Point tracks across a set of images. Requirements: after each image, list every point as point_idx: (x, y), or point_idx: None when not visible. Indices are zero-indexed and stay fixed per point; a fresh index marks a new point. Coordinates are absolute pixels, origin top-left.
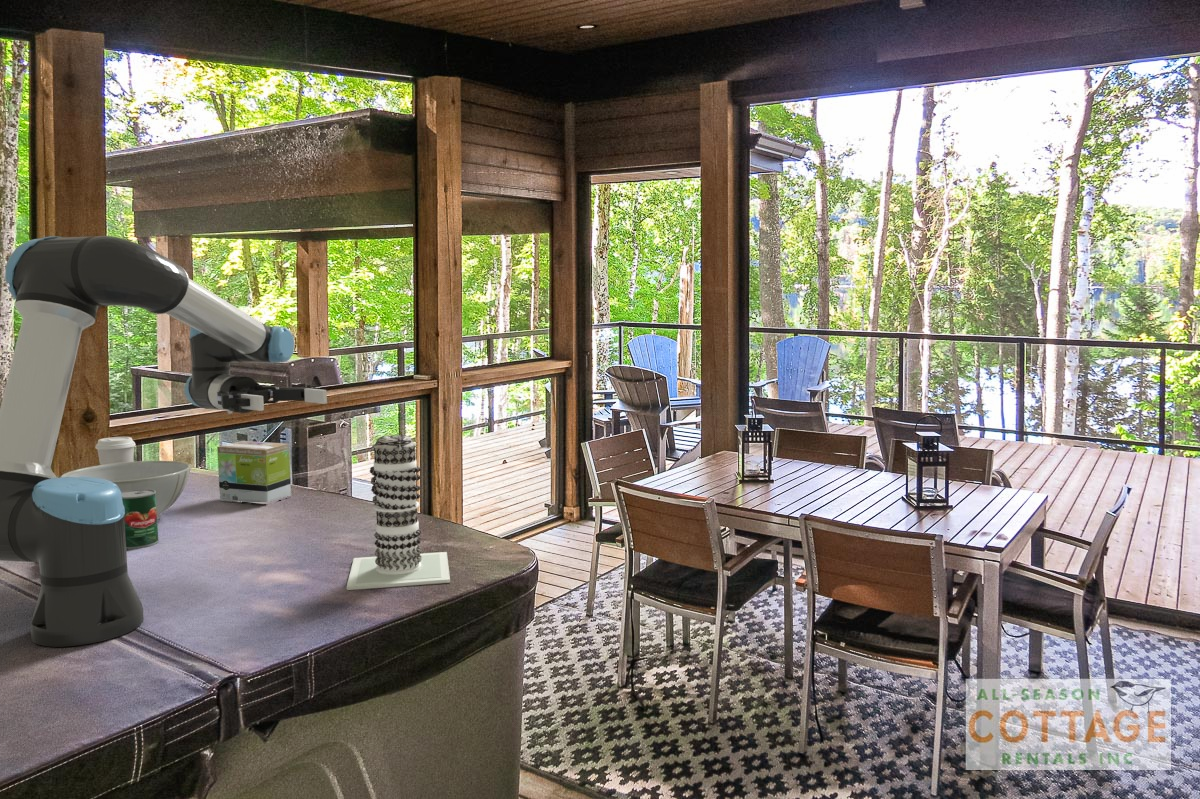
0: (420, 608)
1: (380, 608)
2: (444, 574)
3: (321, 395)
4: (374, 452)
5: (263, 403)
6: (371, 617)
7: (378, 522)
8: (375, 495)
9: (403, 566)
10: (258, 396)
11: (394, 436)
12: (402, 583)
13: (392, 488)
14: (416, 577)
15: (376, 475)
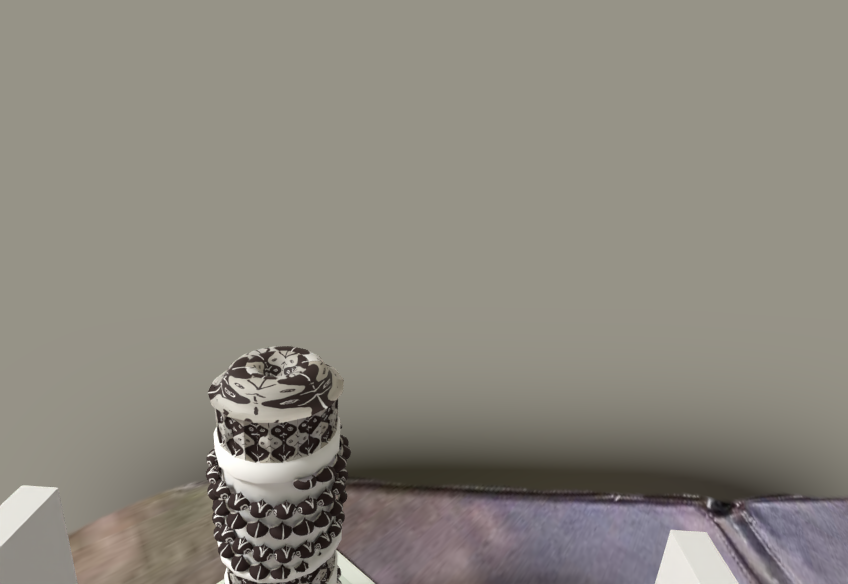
0: (426, 495)
1: (464, 534)
2: None
3: (43, 553)
4: (323, 420)
5: (657, 578)
6: (495, 520)
7: (325, 577)
8: (307, 543)
9: None
10: (714, 545)
11: (258, 372)
12: (363, 575)
13: (335, 455)
14: None
15: (350, 453)
